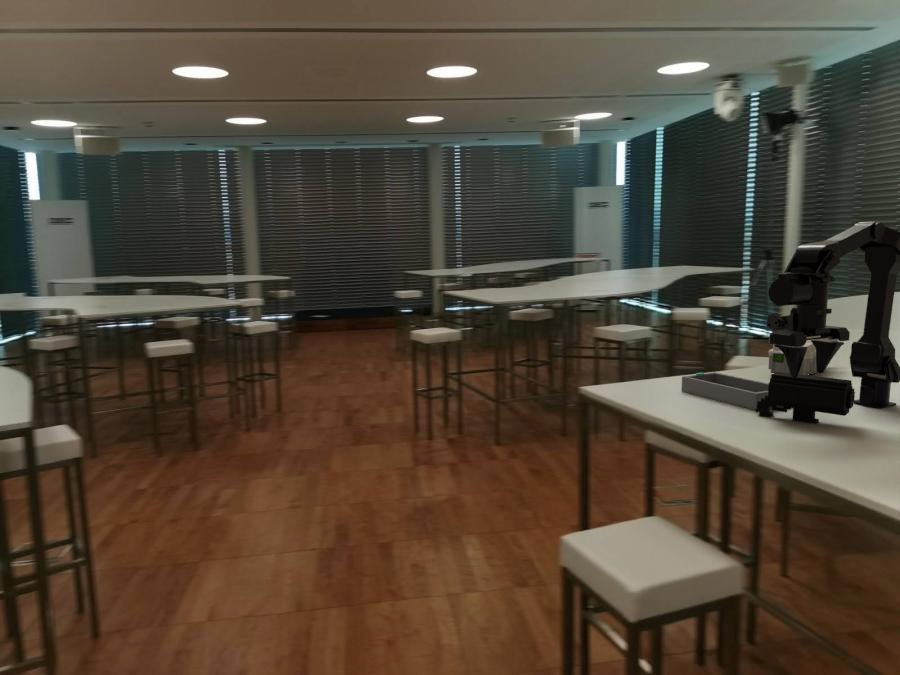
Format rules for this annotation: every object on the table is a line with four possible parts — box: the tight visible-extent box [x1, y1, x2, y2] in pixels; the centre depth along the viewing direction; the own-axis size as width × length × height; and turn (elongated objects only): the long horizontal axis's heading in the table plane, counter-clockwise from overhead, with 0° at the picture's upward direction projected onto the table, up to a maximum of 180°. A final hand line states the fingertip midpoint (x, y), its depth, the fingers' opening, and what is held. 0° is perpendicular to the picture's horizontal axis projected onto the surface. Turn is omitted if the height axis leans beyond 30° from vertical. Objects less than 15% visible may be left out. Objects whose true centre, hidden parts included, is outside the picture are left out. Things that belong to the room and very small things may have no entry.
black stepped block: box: [755, 372, 856, 425], centre depth 137 cm, size 7×18×10 cm, turn 46°
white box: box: [767, 339, 817, 375], centre depth 186 cm, size 12×28×10 cm, turn 137°
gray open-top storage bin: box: [681, 372, 770, 411], centre depth 159 cm, size 12×23×4 cm, turn 26°
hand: (807, 374), depth 135 cm, fingers open, 8 cm apart
